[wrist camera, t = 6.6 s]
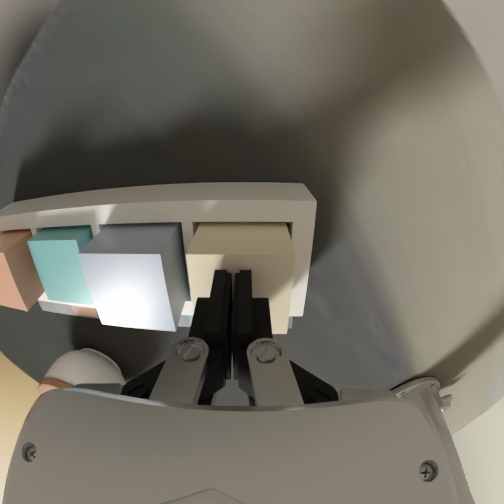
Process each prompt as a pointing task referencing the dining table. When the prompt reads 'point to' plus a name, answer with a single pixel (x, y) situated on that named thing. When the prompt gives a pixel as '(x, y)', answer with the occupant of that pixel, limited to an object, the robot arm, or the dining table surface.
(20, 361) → the dining table surface
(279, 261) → the key
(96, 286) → the key
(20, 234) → the key
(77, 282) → the key
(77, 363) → the lidded jar
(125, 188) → the keypad
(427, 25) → the dining table surface
